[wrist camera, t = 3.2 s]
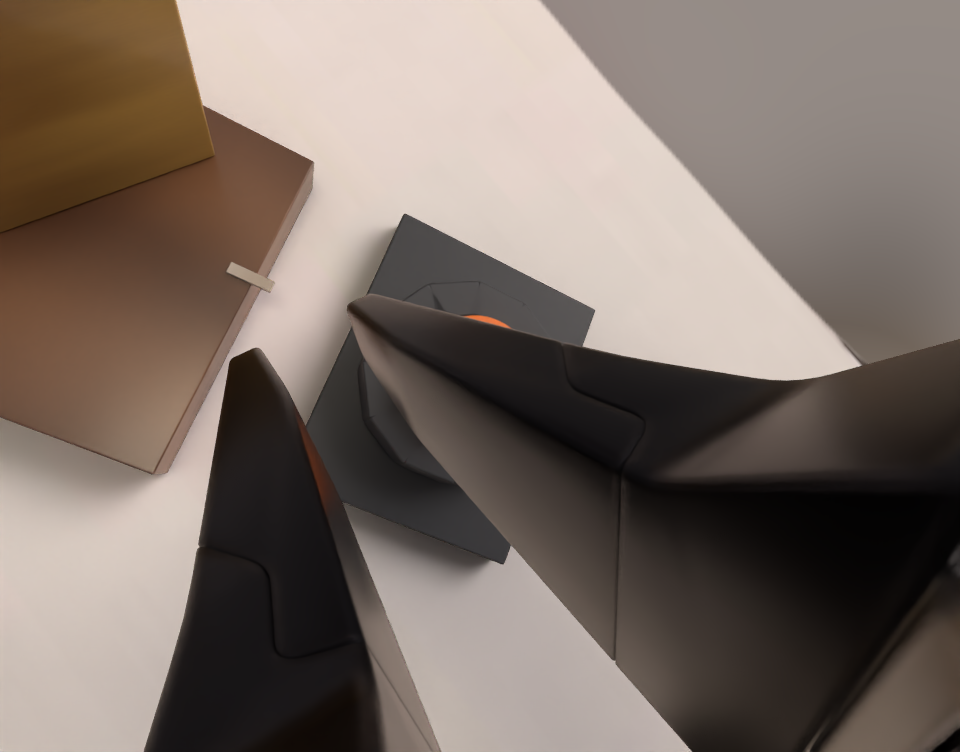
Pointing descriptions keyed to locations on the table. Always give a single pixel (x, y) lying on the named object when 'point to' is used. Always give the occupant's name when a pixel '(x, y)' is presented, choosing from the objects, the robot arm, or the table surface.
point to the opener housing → (376, 420)
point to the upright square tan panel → (92, 101)
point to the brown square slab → (143, 297)
